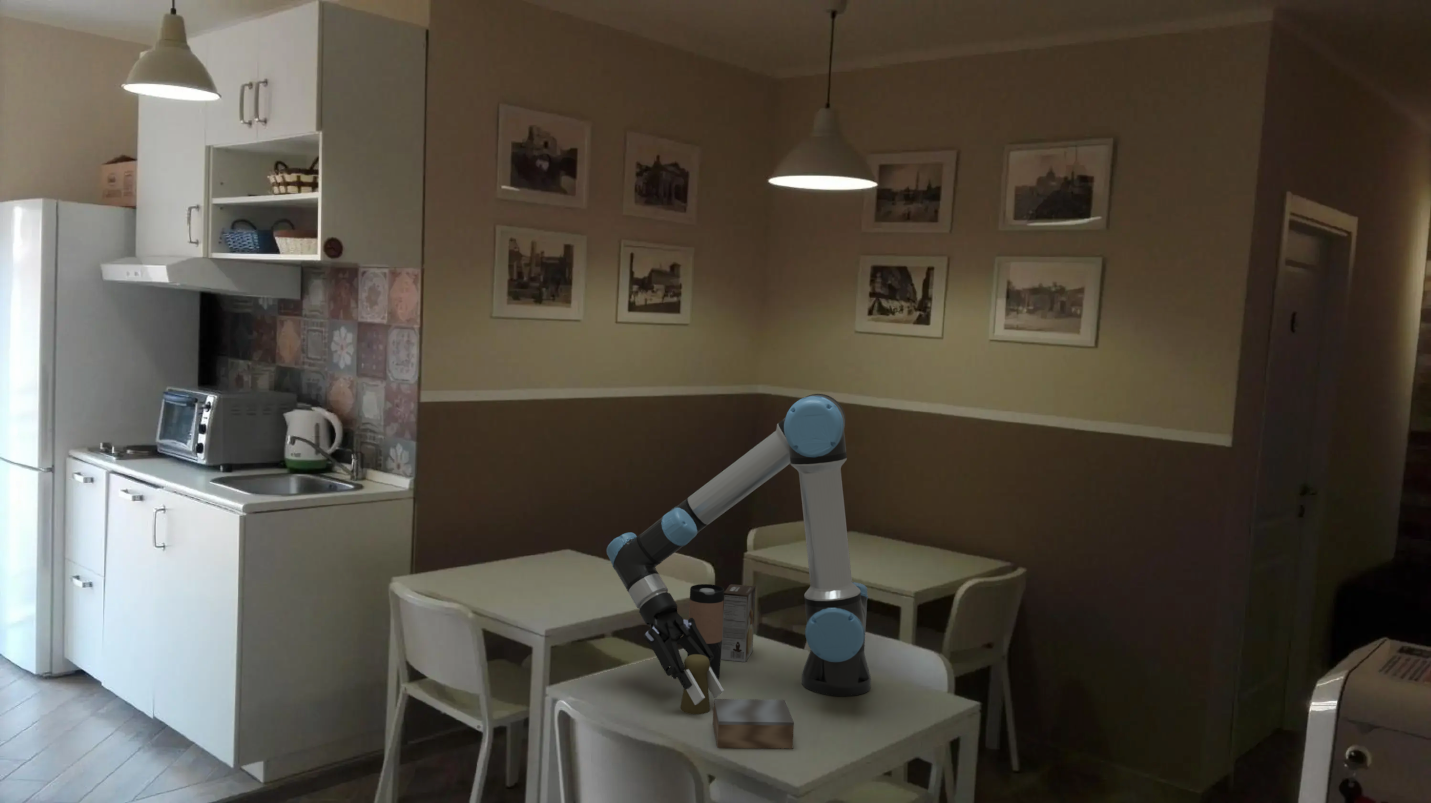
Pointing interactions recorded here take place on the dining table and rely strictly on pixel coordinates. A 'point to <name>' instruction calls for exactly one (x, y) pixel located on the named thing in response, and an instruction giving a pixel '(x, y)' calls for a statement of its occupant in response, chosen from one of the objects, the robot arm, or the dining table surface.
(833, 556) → the robot arm
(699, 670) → the cork
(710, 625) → the travel mug
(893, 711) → the dining table surface
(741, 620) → the coffee box
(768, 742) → the walnut stand
